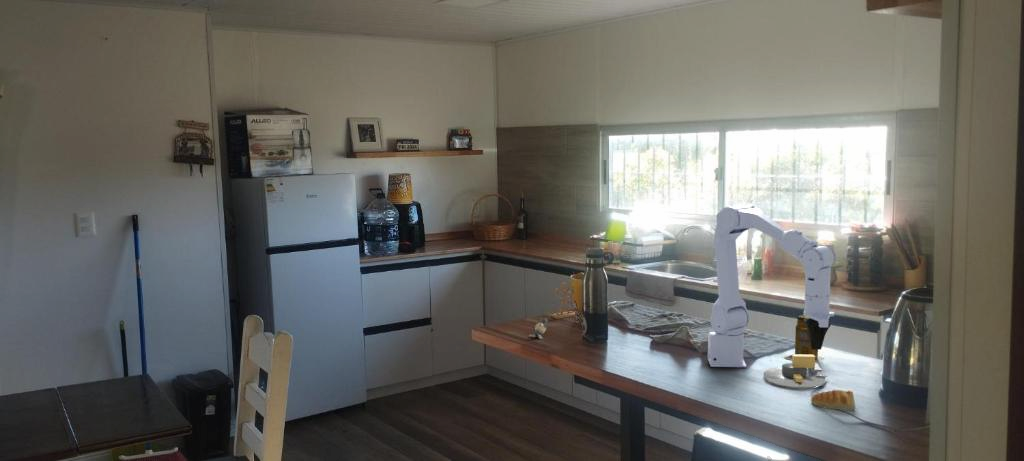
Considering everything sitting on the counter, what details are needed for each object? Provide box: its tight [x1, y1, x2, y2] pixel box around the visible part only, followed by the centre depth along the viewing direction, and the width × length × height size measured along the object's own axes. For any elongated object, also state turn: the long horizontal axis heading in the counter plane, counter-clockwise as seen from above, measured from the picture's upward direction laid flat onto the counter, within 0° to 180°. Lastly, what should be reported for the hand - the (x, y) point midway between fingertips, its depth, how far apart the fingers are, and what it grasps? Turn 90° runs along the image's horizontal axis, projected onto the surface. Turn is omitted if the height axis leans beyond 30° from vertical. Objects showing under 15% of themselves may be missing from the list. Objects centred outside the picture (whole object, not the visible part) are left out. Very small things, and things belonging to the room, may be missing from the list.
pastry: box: [810, 389, 856, 411], centre depth 182 cm, size 9×7×4 cm
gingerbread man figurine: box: [551, 282, 576, 320], centre depth 274 cm, size 9×4×12 cm, turn 117°
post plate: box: [763, 362, 828, 390], centre depth 201 cm, size 16×15×3 cm
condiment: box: [783, 314, 825, 362], centre depth 218 cm, size 7×8×12 cm
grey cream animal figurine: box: [528, 317, 548, 340], centre depth 249 cm, size 5×5×6 cm
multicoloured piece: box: [781, 353, 816, 382], centre depth 199 cm, size 8×9×5 cm
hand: (816, 348), depth 193 cm, fingers closed
